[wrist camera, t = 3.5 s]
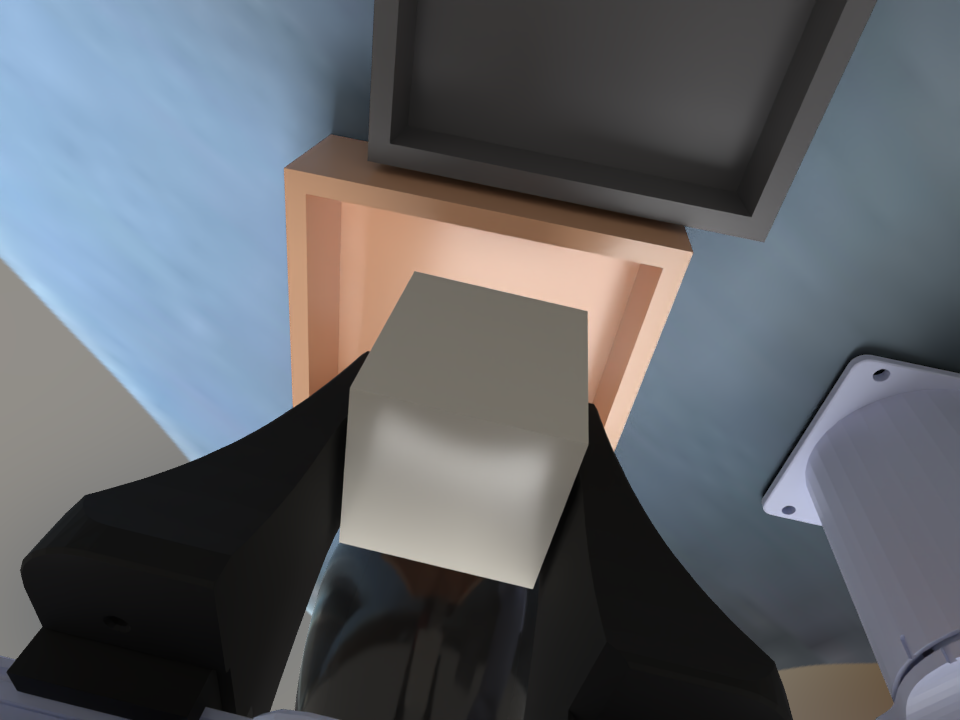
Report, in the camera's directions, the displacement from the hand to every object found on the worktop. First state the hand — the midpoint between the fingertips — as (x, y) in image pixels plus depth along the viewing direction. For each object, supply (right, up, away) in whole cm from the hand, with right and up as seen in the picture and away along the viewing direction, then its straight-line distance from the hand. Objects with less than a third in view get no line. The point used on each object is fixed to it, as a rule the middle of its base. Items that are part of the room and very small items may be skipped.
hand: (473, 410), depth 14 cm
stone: (0, +1, +1) cm, 1 cm away
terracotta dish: (0, +3, +8) cm, 9 cm away
